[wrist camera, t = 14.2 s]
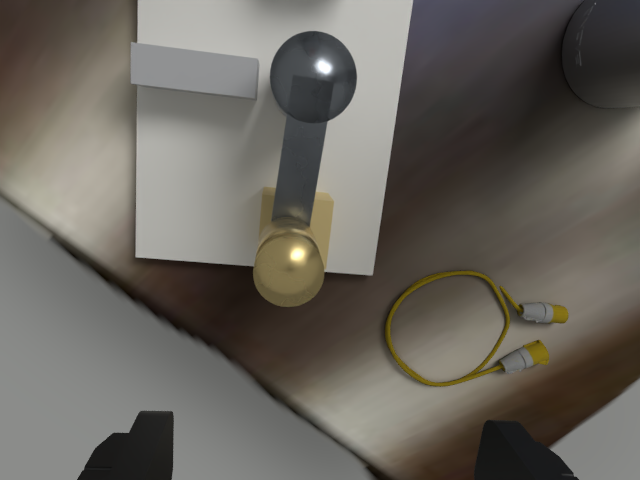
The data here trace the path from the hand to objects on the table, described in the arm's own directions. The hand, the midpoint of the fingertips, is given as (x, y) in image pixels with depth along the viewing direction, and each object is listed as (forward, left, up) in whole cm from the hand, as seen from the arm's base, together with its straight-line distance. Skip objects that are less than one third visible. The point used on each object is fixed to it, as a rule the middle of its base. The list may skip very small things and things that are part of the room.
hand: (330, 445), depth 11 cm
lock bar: (+1, -6, -19) cm, 20 cm away
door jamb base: (+3, -11, -26) cm, 28 cm away
